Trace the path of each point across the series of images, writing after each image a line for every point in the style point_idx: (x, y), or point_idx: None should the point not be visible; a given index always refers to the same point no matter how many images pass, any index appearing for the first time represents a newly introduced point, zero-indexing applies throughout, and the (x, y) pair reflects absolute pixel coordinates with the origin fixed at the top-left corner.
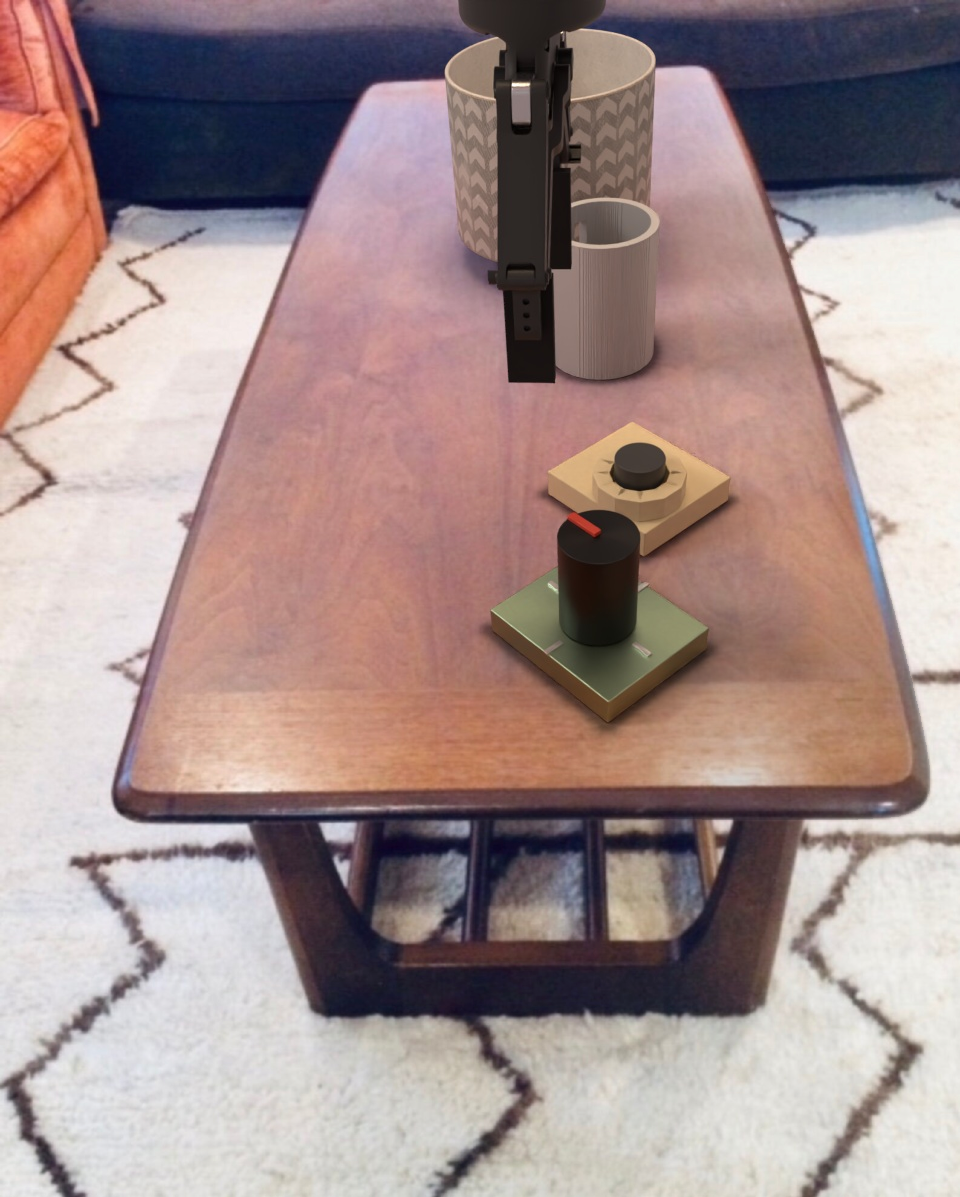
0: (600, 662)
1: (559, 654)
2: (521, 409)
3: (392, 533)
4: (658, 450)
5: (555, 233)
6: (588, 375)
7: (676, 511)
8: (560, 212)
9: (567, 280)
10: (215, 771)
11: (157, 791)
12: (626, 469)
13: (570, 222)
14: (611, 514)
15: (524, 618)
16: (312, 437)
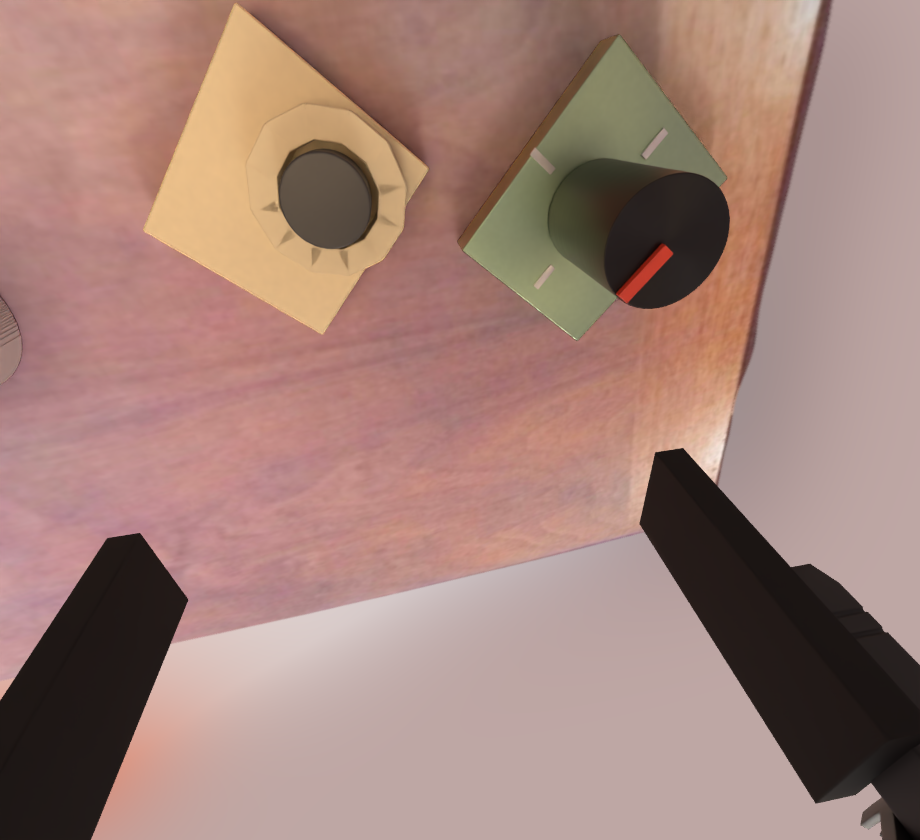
0: None
1: None
2: (154, 393)
3: (434, 455)
4: (295, 169)
5: (109, 659)
6: (11, 323)
7: (366, 117)
8: (56, 730)
9: None
10: None
11: None
12: (366, 222)
13: (57, 672)
14: (618, 233)
15: (592, 302)
16: (306, 560)
